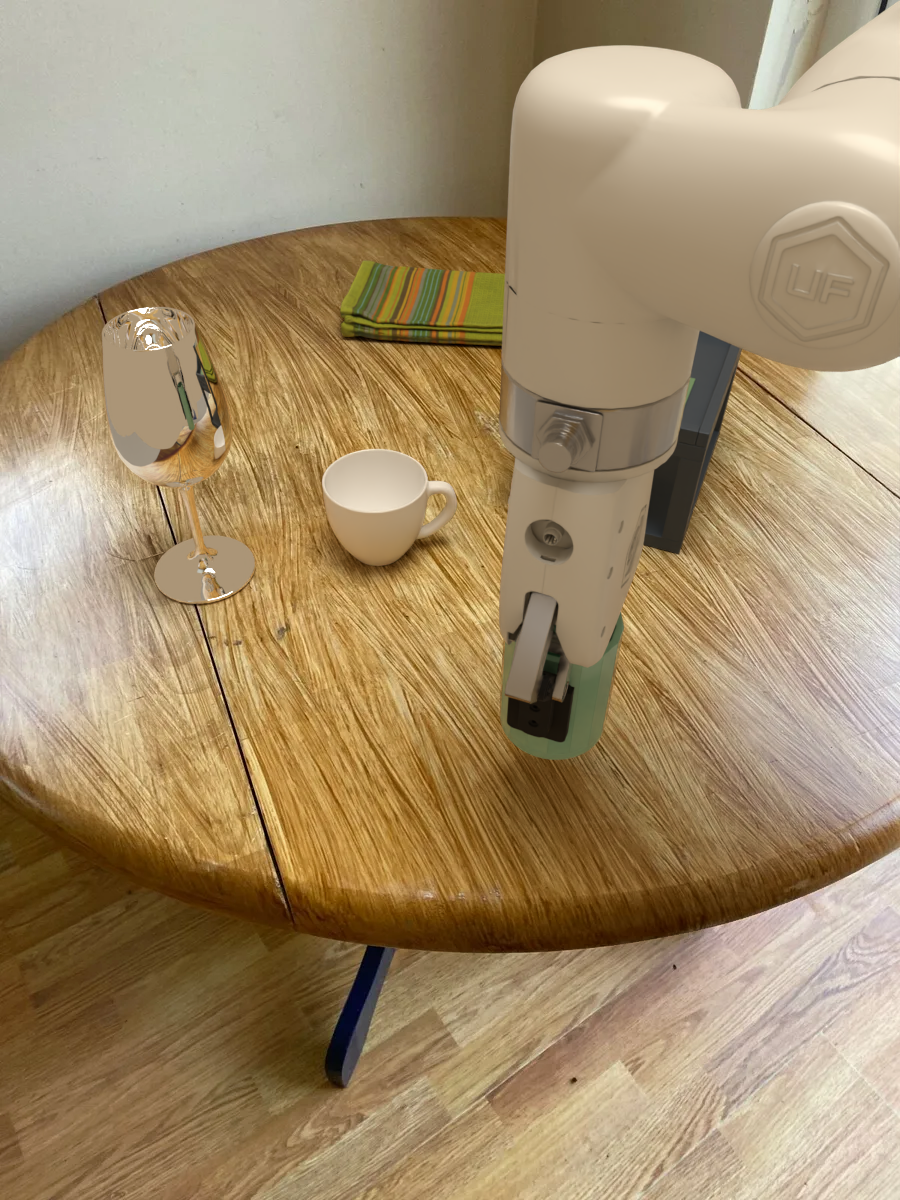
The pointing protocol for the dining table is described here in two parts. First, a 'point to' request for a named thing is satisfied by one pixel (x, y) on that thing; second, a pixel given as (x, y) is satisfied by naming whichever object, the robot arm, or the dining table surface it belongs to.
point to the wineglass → (173, 438)
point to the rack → (691, 444)
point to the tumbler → (586, 704)
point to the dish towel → (424, 305)
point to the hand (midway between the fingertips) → (556, 682)
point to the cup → (381, 504)
